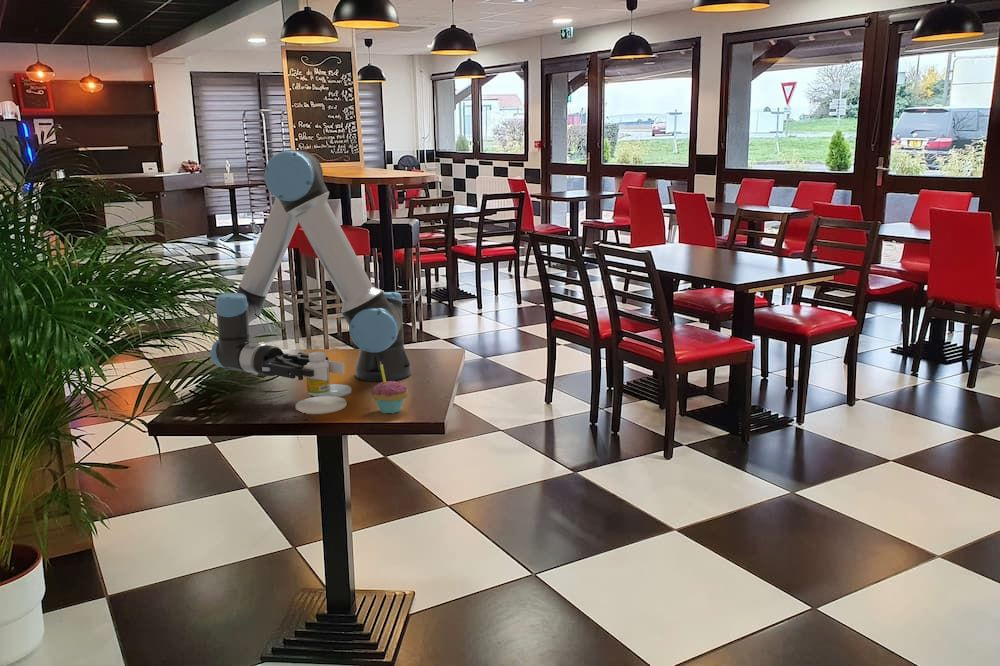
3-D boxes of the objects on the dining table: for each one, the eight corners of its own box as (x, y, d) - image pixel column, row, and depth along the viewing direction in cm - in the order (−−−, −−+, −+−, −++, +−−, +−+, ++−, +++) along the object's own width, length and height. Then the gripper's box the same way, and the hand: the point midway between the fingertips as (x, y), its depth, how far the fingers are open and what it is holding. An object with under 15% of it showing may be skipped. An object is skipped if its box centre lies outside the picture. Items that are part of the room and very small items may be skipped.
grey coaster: (343, 385, 214) (343, 382, 214) (357, 394, 206) (357, 391, 206) (306, 391, 209) (306, 388, 209) (318, 400, 201) (318, 397, 201)
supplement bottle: (311, 389, 198) (309, 350, 196) (333, 390, 198) (331, 351, 196) (304, 395, 193) (302, 356, 191) (326, 396, 193) (324, 356, 190)
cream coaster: (336, 396, 204) (336, 393, 204) (353, 408, 194) (353, 405, 194) (289, 404, 198) (289, 401, 198) (304, 417, 188) (304, 414, 188)
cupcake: (368, 415, 189) (365, 365, 186) (378, 404, 197) (375, 356, 195) (403, 416, 188) (401, 366, 185) (412, 405, 196) (410, 357, 193)
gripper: (290, 366, 211) (360, 377, 200) (235, 383, 196) (308, 396, 185) (288, 337, 210) (359, 348, 199) (233, 352, 194) (306, 364, 183)
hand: (334, 371), depth 192 cm, fingers closed on supplement bottle, 5 cm apart
